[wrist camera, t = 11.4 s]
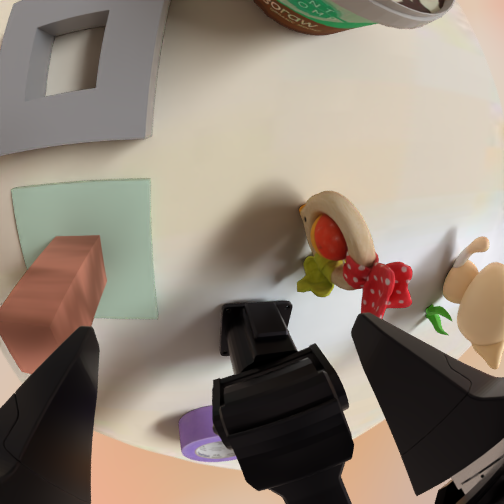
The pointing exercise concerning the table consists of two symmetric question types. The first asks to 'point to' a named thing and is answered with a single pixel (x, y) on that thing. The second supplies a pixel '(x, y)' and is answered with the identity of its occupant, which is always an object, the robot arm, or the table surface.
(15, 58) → the pocket block
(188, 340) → the table surface
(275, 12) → the food container
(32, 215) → the board
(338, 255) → the bird rattle
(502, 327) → the kitten
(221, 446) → the tape roll
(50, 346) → the peg
